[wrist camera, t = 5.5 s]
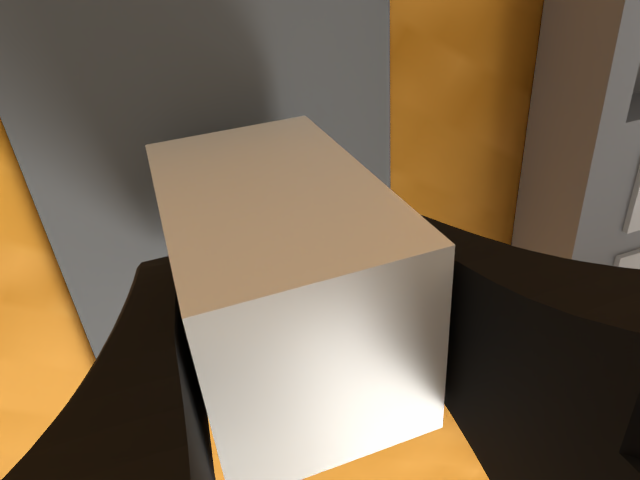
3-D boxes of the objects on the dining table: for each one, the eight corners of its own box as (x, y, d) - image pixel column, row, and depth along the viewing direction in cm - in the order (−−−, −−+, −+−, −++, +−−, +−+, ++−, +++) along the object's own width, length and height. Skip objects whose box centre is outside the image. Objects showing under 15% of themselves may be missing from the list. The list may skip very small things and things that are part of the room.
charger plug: (316, 247, 16) (442, 427, 10) (180, 282, 15) (231, 504, 9) (305, 115, 13) (455, 244, 8) (144, 144, 12) (181, 319, 7)
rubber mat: (385, 319, 20) (391, 327, 20) (116, 399, 18) (116, 410, 17) (379, -119, 13) (388, -121, 13) (-75, -88, 11) (-82, -90, 10)
